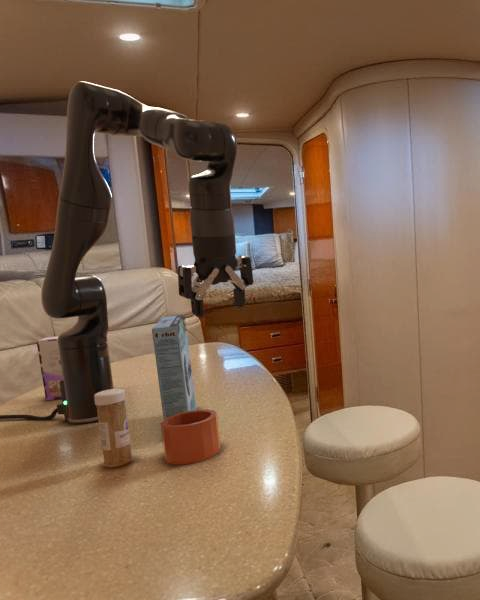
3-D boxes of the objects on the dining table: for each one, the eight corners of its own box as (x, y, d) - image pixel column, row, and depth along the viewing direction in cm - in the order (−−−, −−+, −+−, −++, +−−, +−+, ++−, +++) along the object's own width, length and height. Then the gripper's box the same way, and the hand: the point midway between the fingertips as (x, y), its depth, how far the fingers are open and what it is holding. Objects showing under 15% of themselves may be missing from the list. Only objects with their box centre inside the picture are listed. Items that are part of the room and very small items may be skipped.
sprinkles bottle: (133, 463, 92) (124, 391, 90) (103, 470, 90) (93, 397, 88) (132, 455, 96) (124, 386, 94) (103, 462, 93) (94, 391, 92)
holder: (154, 464, 91) (149, 427, 90) (185, 443, 100) (181, 409, 99) (202, 464, 90) (197, 426, 89) (229, 443, 99) (226, 409, 98)
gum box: (191, 435, 105) (179, 325, 102) (163, 440, 103) (149, 328, 100) (197, 408, 122) (186, 314, 120) (173, 411, 120) (161, 316, 118)
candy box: (111, 388, 144) (104, 330, 142) (104, 393, 139) (96, 334, 137) (53, 394, 140) (45, 336, 138) (44, 401, 134) (35, 339, 132)
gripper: (235, 224, 104) (240, 299, 109) (165, 232, 93) (174, 315, 98) (258, 230, 100) (262, 307, 105) (187, 239, 89) (195, 325, 94)
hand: (220, 311), depth 102 cm, fingers open, 8 cm apart
